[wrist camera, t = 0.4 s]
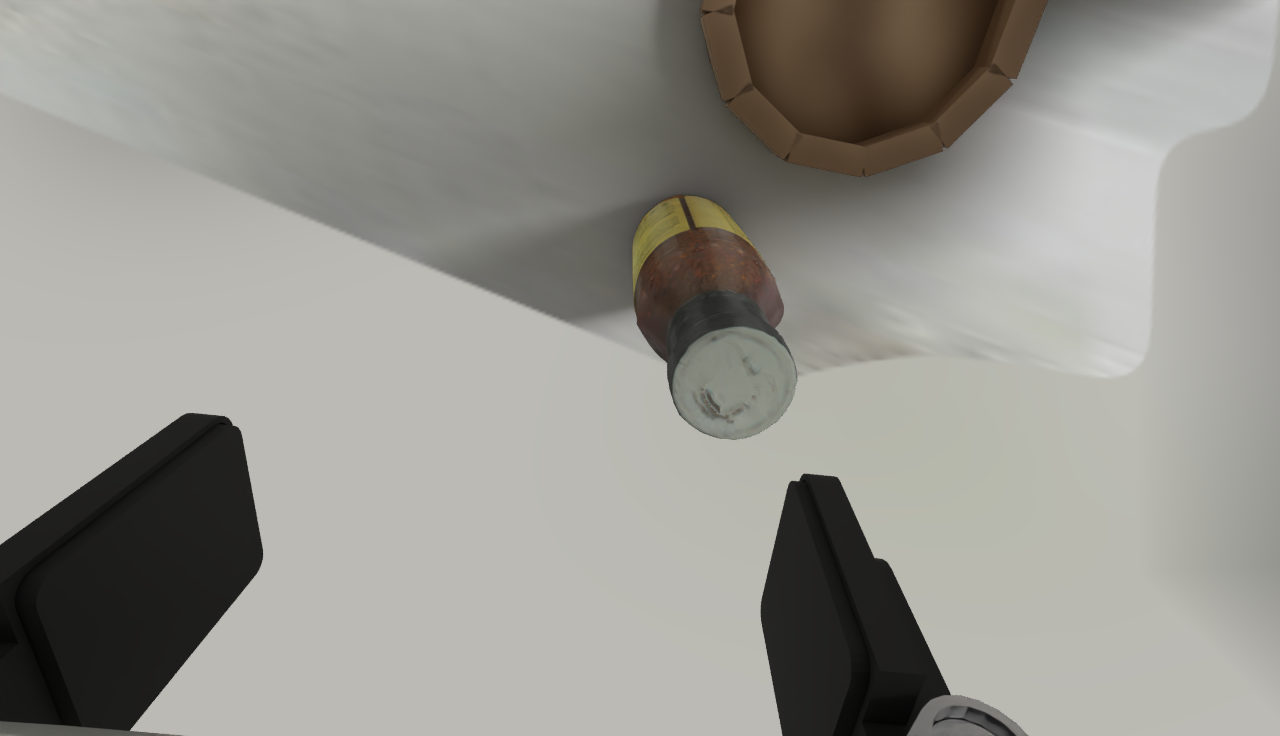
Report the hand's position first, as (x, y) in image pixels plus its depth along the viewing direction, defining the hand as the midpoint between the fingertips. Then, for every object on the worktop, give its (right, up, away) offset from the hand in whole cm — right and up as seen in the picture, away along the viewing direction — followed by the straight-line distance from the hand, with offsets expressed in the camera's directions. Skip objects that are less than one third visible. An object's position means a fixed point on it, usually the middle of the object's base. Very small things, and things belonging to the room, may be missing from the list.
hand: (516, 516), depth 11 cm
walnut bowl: (+13, +21, +22) cm, 33 cm away
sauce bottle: (+5, +10, +27) cm, 30 cm away
